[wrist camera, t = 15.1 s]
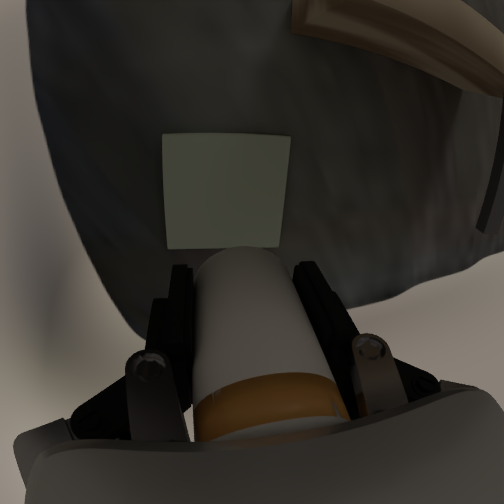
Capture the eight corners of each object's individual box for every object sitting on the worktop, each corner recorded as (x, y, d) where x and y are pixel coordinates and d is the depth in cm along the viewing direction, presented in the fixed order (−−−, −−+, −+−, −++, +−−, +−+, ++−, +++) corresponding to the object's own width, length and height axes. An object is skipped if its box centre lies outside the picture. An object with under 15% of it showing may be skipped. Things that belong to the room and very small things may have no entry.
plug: (190, 247, 10) (185, 431, 4) (296, 245, 11) (378, 403, 5) (195, 326, 12) (202, 479, 6) (283, 321, 13) (329, 462, 7)
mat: (163, 133, 18) (162, 134, 18) (288, 135, 20) (290, 137, 19) (168, 245, 23) (167, 249, 22) (277, 243, 24) (278, 247, 24)
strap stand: (292, -1, 14) (355, -54, 6) (464, 63, 17) (545, 77, 9) (290, 33, 16) (356, -6, 7) (463, 90, 19) (543, 110, 10)
